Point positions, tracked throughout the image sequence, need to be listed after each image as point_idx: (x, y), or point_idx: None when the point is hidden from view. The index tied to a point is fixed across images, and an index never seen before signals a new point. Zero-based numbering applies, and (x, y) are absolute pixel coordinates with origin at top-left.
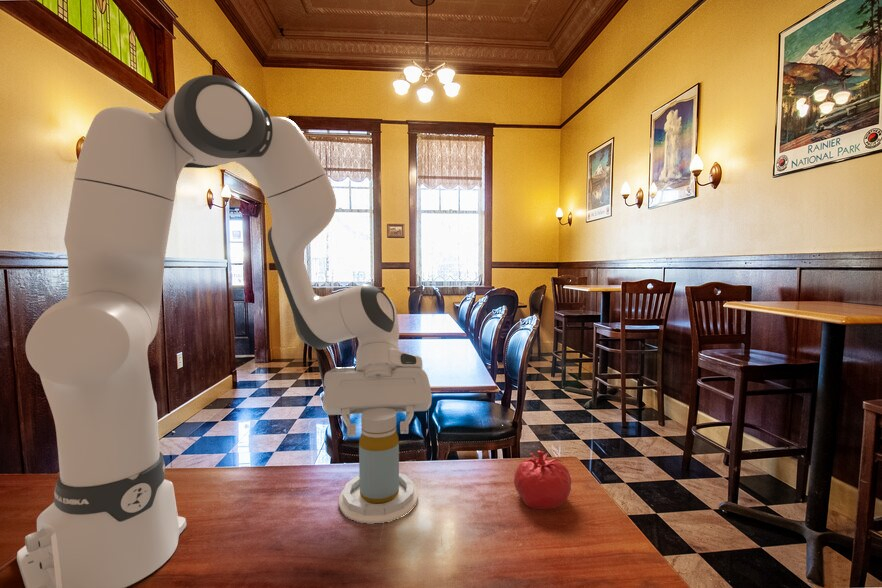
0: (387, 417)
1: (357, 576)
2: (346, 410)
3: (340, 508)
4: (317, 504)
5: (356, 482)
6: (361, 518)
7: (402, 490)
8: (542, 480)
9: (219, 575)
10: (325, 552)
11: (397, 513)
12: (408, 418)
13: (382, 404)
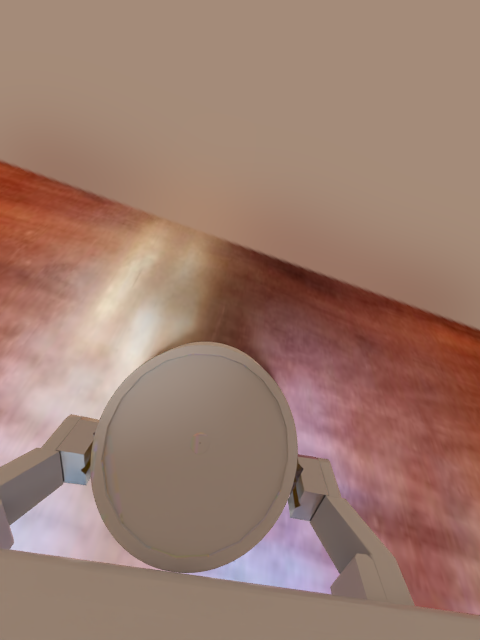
0: (164, 381)
1: (262, 258)
2: (383, 588)
3: None
4: (319, 442)
5: None
6: (247, 355)
7: None
8: None
9: (417, 314)
10: (300, 310)
11: (184, 345)
12: (28, 458)
13: (144, 573)
